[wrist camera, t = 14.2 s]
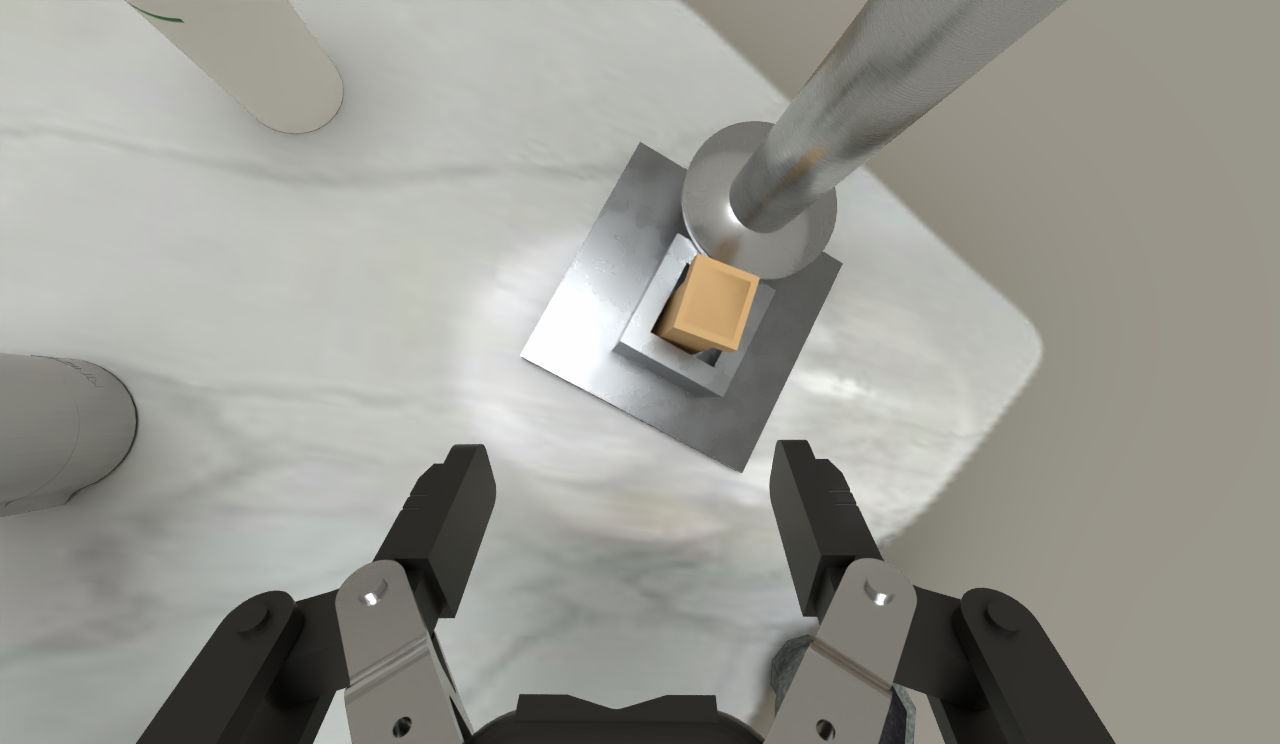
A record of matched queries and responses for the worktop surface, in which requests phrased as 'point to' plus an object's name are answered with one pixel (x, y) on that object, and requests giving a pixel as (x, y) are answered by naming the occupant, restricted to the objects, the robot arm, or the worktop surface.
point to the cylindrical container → (254, 57)
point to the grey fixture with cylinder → (754, 225)
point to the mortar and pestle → (901, 712)
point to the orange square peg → (707, 307)
